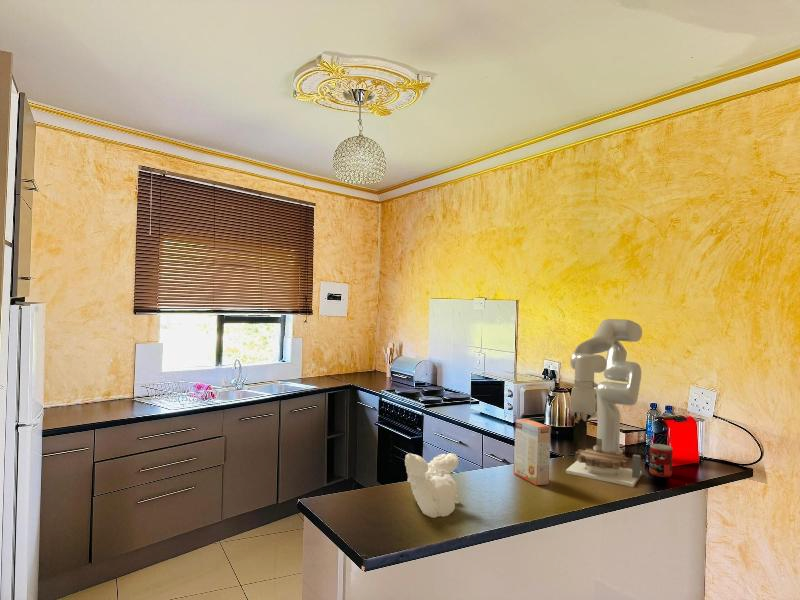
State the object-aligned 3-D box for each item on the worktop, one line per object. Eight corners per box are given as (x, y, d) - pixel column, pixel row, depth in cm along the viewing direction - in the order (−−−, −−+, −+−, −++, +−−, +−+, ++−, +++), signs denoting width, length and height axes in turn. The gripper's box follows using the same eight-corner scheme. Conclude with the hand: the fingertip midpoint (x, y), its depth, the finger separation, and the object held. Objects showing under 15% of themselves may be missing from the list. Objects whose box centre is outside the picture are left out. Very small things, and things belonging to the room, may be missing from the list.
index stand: (578, 462, 210) (579, 439, 210) (643, 474, 196) (644, 450, 196) (565, 473, 194) (566, 449, 194) (635, 487, 180) (636, 461, 180)
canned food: (644, 471, 200) (645, 444, 200) (660, 470, 202) (661, 443, 203) (660, 478, 193) (660, 449, 193) (676, 476, 195) (677, 448, 195)
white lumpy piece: (434, 495, 139) (405, 442, 154) (409, 542, 147) (384, 487, 162) (486, 489, 149) (454, 439, 164) (459, 533, 157) (431, 482, 172)
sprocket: (582, 451, 209) (583, 434, 209) (632, 460, 198) (632, 442, 199) (569, 462, 193) (570, 442, 193) (623, 472, 183) (623, 452, 183)
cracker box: (550, 485, 179) (551, 426, 180) (536, 486, 177) (537, 427, 178) (526, 472, 192) (528, 418, 193) (513, 474, 190) (514, 418, 191)
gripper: (605, 386, 205) (603, 431, 204) (568, 382, 213) (566, 426, 212) (601, 388, 199) (599, 434, 198) (562, 383, 207) (561, 428, 206)
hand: (582, 430), depth 205 cm, fingers closed
